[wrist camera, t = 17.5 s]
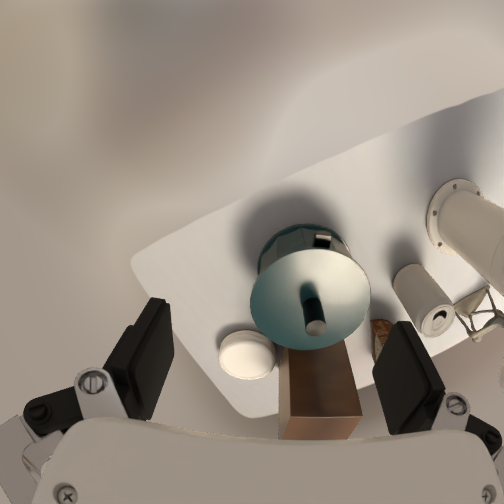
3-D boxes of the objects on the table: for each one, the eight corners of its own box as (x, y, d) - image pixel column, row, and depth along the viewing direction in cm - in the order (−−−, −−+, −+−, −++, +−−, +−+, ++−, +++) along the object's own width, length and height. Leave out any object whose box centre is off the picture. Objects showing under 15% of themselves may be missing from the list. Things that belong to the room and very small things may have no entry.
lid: (383, 254, 32) (398, 274, 28) (351, 349, 39) (358, 375, 34) (256, 239, 33) (253, 259, 28) (246, 342, 39) (242, 369, 34)
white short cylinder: (210, 338, 51) (207, 351, 48) (261, 321, 48) (260, 335, 45) (236, 372, 54) (234, 385, 51) (283, 359, 52) (284, 372, 49)
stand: (342, 333, 49) (363, 416, 32) (328, 371, 53) (340, 448, 36) (287, 329, 49) (290, 416, 32) (278, 368, 53) (278, 448, 37)
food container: (400, 352, 50) (416, 388, 41) (372, 361, 51) (384, 399, 42) (401, 304, 45) (423, 341, 36) (369, 314, 47) (386, 353, 37)
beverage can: (427, 260, 42) (462, 300, 31) (420, 294, 44) (449, 337, 33) (394, 262, 42) (426, 304, 31) (388, 296, 45) (414, 343, 34)
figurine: (448, 328, 47) (480, 379, 34) (448, 304, 45) (486, 356, 31) (487, 308, 45) (523, 352, 31) (490, 284, 43) (530, 327, 29)
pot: (362, 221, 40) (383, 245, 32) (337, 317, 47) (347, 354, 39) (263, 208, 40) (261, 231, 32) (252, 310, 47) (248, 347, 39)
